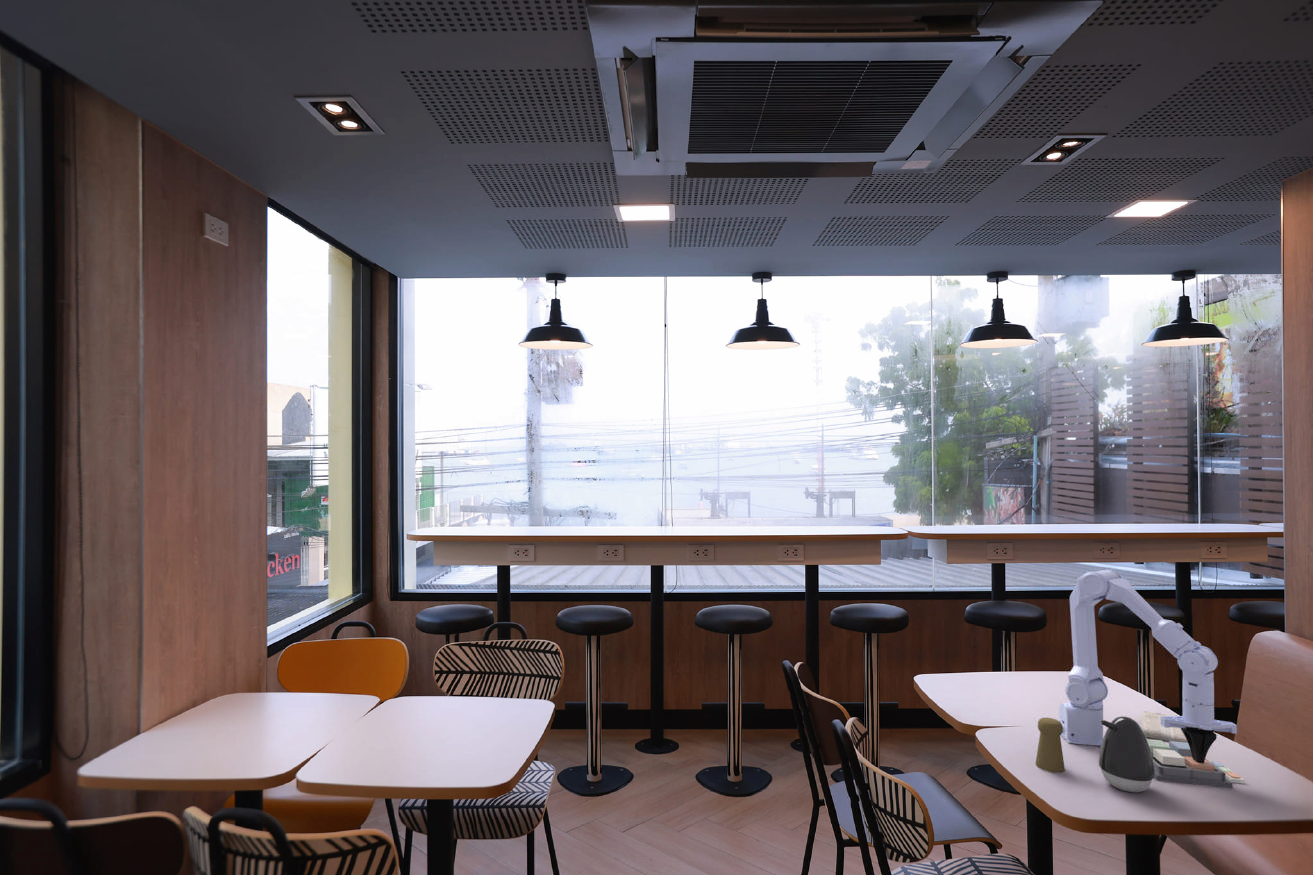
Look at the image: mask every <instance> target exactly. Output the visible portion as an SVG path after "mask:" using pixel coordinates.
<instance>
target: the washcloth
mask: <svg viewBox="0 0 1313 875" xmlns="http://www.w3.org/2000/svg"><path fill="white" fill-rule="evenodd" d="M1161 716H1164V717H1171V715H1167V714H1162V713H1159V712H1151V711H1142V713H1141V715H1140V719H1141V729H1142V731H1143V732H1144V735H1145V737H1146V739H1151V740H1162V741H1163V742H1168V743H1169V741H1174V742H1185V743H1188V742H1187V740H1186V737H1185V736H1184V734H1183V732H1182V730H1181V728H1175V727H1170V728H1165V727H1164V726H1162V725H1161Z"/></svg>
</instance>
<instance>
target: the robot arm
mask: <svg viewBox="0 0 1313 875" xmlns="http://www.w3.org/2000/svg"><path fill="white" fill-rule="evenodd" d="M1076 579H1077V580H1076V581H1077V582H1076V585H1075V586H1074V588H1073V590H1072V592H1071V594H1070V595H1069V610H1070V612H1069V613H1070V627H1071V629H1070V630H1071V644H1072V645H1071V646H1072V657H1073V658H1072V661H1073V667H1071V670H1070V672H1069V673H1068V682H1067V684H1066V686H1065V695H1066V698H1067V699H1068V700H1069V701H1070V702H1062V703H1060V705H1059V710H1058V711H1059V712H1058V717H1059V718H1058V719H1059V720H1058V721H1059V722H1061V724H1062V726H1063V732H1062V734H1061V735H1060V736H1062V737H1063V738H1064V739H1065V741H1066V742H1068V744H1074V745H1075V744H1076V745H1086V746H1097V747H1098V746H1099V747H1101V744H1102V741H1103V738H1104V725H1102V724H1101V721H1102V720H1104V703H1103V702H1104V701H1105V699H1107V696H1108V695H1109V689H1108V686H1107V684H1106V683H1105V680H1104V674H1103V672H1102V670H1101V669H1100V667H1099V666H1098V664H1099V663H1098V649H1097V648H1098V647H1097V632H1096V630H1097V629H1096V618H1095V617H1096V615H1095V606H1096V605H1097V604H1098V603H1099V602H1101V601H1102V600H1104V599H1105V600H1109V601H1113V602H1117V603H1122V604H1123V605H1125V606H1126V608H1128V609H1129V610H1130V611H1131V612H1132V613H1134V614H1135V615H1136V616H1137V617H1138V618H1140V619H1141V620H1142V621H1143V622H1144V623H1145V624H1146V625H1147V626H1149V627H1150V628H1151V635H1152V637H1153V638H1154V639H1155V640H1156V641H1158V643H1159V644H1161V645H1162V646H1163V647H1164V648H1165V649H1166V650H1167V652H1169V653H1170V654H1171V655H1172V656H1173V657H1174V658H1176V659H1177V661H1176V662H1177V665H1178V667H1179V669H1180V670H1182V715H1175V716H1173V715H1172V716H1171V715H1170V717H1164V716H1161V725H1162V726H1164V727H1165V728H1170V727H1175V728H1181V730H1182V732H1183V734H1184V736H1185V737H1186V740H1187V742H1188V744H1189V747H1190V750H1191V754H1192V758H1193V760H1194V761H1196V762H1197V763H1204V761H1205V759H1206V758H1207V754H1208V753H1209V750H1210V748H1211V746H1212V745H1213V743H1215V741H1216V740H1217V736H1218V735H1217V734H1216V733H1215V732H1223V733H1224V732H1225V733H1231V734H1234V735H1235V734H1238V731H1237V730H1238V726H1237V724H1235V723H1233V722H1231V721H1225V720H1217V719H1215V682H1214V679H1215V678H1214V673H1215V672H1214V671H1215V670H1216V669H1217V667H1218V665H1219V661H1218V658H1217V655H1216V654H1215V653H1214V652H1213V650H1212V649H1211V648H1209V647H1207V646H1204V645H1202V644H1201V642H1199V641H1196V640H1195V639H1194V638H1192V637H1191V636H1190V635H1189V634H1188V633H1187V632H1186V631H1185V630H1183V628H1184V626H1183V625H1182V624H1181V623H1180V622H1177V623H1176V622H1175V621H1173V620H1170V619H1164V618H1163V617H1162V616H1161V615H1160V614H1159V613H1158V612H1157V611H1156V610H1155V608H1153V607H1152V606H1151V605H1150V604H1149V603H1148V601H1146V599H1144V597H1143V596H1141V595H1140V594H1139V593H1138V592H1137V591H1136V590H1135V589H1134V588H1133V586H1132V585H1131V583H1130V582H1129V581H1128V580H1127V579H1126V578H1125V577H1122V575H1121V574H1120V573H1119V572H1118V571H1116V570H1114V569H1111V568H1109V569H1102V570H1097V571H1088V572H1085V573H1084V574H1083V575H1081V576H1079V577H1078V578H1076Z"/></svg>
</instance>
